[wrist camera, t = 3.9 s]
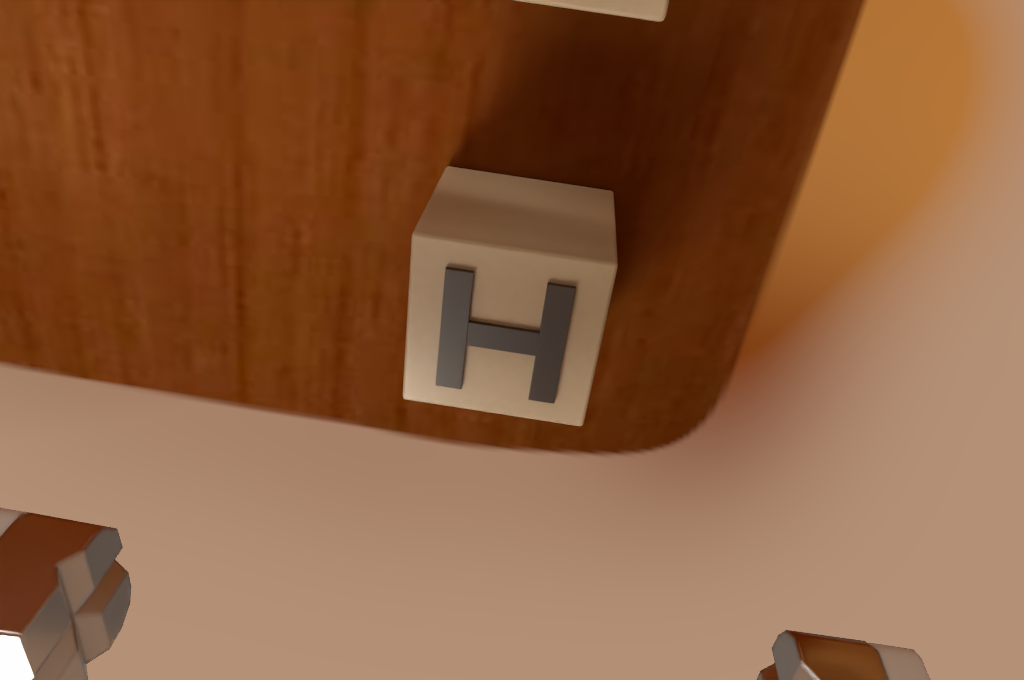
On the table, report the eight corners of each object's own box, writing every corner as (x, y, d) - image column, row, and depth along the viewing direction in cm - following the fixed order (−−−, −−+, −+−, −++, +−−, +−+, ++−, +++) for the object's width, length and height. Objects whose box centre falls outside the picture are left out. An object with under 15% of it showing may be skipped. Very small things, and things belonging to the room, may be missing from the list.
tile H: (585, 334, 20) (582, 430, 17) (434, 311, 20) (400, 403, 17) (614, 189, 18) (618, 266, 14) (446, 164, 18) (410, 234, 14)
